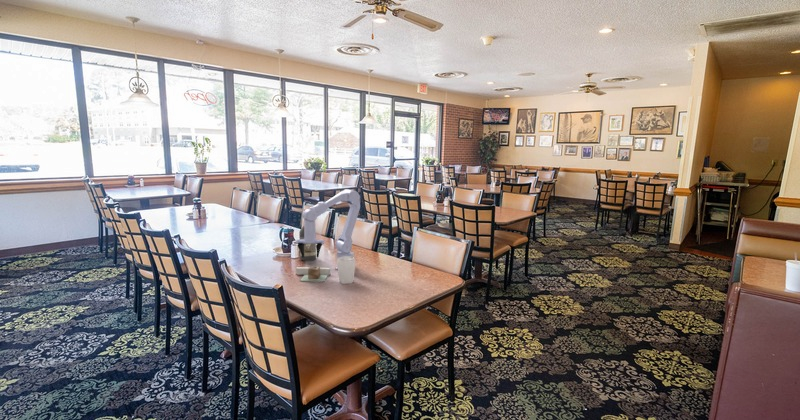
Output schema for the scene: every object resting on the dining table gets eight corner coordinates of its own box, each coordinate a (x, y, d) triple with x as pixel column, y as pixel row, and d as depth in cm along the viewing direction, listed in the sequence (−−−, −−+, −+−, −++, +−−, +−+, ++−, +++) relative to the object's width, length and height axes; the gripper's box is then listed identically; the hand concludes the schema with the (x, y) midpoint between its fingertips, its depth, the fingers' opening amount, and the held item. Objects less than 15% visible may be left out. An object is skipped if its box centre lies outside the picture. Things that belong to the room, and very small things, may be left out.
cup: (358, 280, 193) (358, 257, 191) (350, 285, 184) (350, 262, 182) (342, 277, 195) (342, 255, 194) (334, 283, 187) (333, 260, 185)
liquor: (299, 257, 231) (298, 208, 227) (314, 256, 234) (314, 208, 229) (300, 261, 223) (299, 211, 218) (316, 260, 225) (315, 210, 221)
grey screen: (330, 274, 200) (330, 268, 200) (330, 275, 199) (330, 268, 199) (296, 273, 200) (296, 267, 200) (296, 274, 199) (295, 268, 199)
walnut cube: (320, 275, 196) (320, 265, 195) (318, 279, 191) (317, 268, 190) (310, 275, 196) (310, 265, 195) (308, 278, 191) (308, 268, 190)
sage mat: (327, 276, 198) (327, 274, 198) (324, 281, 189) (324, 280, 189) (304, 275, 198) (304, 274, 198) (300, 281, 189) (300, 280, 189)
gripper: (294, 233, 194) (294, 258, 196) (322, 233, 195) (322, 259, 197) (297, 230, 201) (298, 255, 203) (324, 231, 202) (325, 255, 204)
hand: (310, 257), depth 201 cm, fingers open, 7 cm apart
